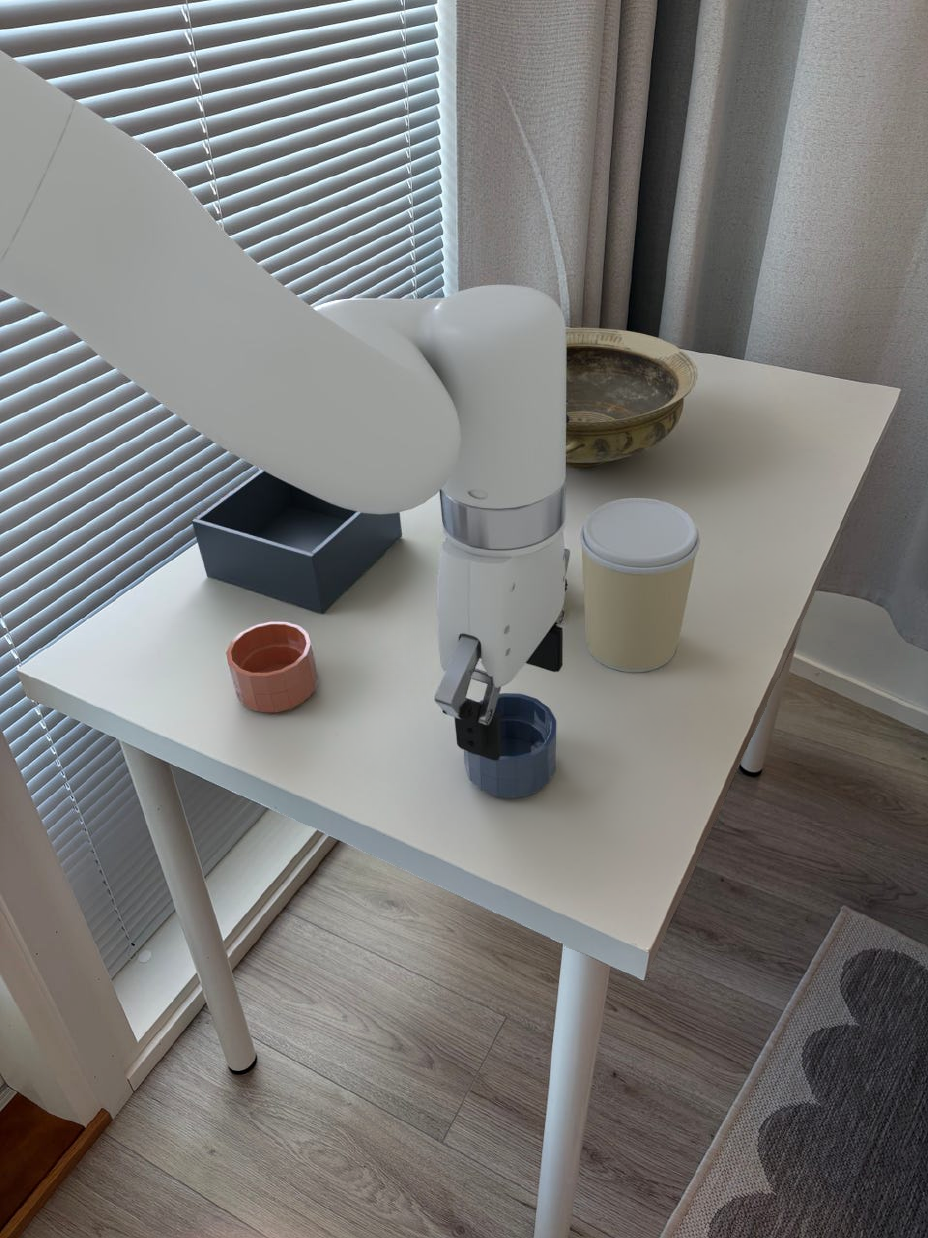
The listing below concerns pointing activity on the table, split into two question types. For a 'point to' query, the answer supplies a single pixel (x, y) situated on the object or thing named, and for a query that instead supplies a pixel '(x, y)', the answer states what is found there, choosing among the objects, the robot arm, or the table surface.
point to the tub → (290, 542)
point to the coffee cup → (636, 581)
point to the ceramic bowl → (621, 393)
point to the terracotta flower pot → (272, 666)
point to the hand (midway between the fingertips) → (512, 706)
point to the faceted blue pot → (518, 749)
